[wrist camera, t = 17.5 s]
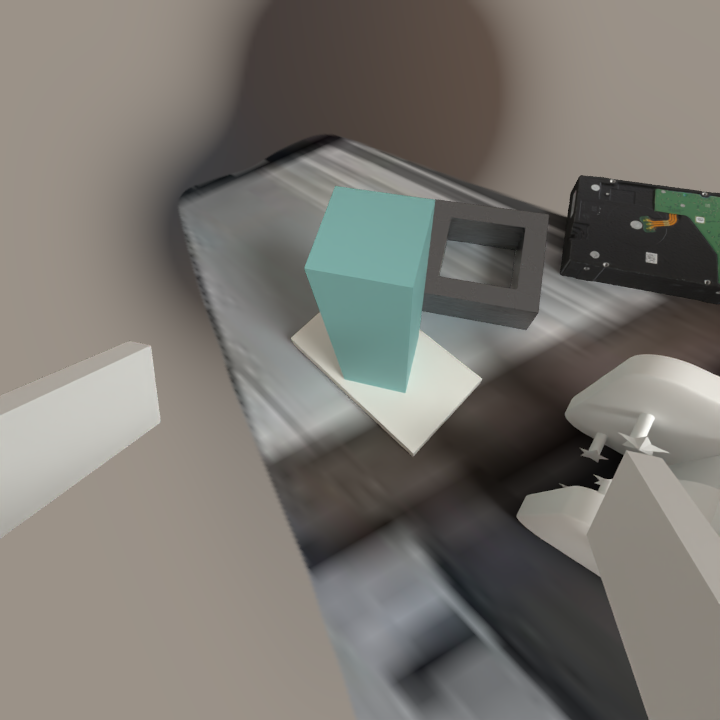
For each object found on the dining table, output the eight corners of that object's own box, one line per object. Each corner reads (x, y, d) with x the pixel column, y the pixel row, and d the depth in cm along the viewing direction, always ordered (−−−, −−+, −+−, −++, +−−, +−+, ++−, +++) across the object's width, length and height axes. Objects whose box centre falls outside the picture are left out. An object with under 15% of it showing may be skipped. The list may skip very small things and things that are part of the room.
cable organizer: (775, 517, 27) (1030, 514, 16) (728, 672, 24) (1002, 796, 13) (562, 402, 31) (650, 340, 20) (501, 522, 28) (566, 523, 17)
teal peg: (418, 337, 32) (435, 199, 18) (405, 393, 31) (413, 287, 17) (360, 325, 33) (335, 185, 19) (344, 379, 31) (304, 268, 18)
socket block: (537, 237, 37) (549, 214, 34) (526, 329, 33) (538, 312, 31) (432, 222, 39) (435, 199, 36) (411, 308, 35) (412, 290, 32)
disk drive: (556, 281, 36) (742, 312, 33) (568, 262, 33) (771, 294, 30) (566, 196, 39) (735, 217, 36) (578, 173, 37) (760, 194, 34)
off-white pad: (478, 385, 32) (482, 379, 30) (412, 456, 30) (413, 453, 29) (357, 288, 36) (356, 278, 35) (294, 345, 35) (290, 338, 33)
